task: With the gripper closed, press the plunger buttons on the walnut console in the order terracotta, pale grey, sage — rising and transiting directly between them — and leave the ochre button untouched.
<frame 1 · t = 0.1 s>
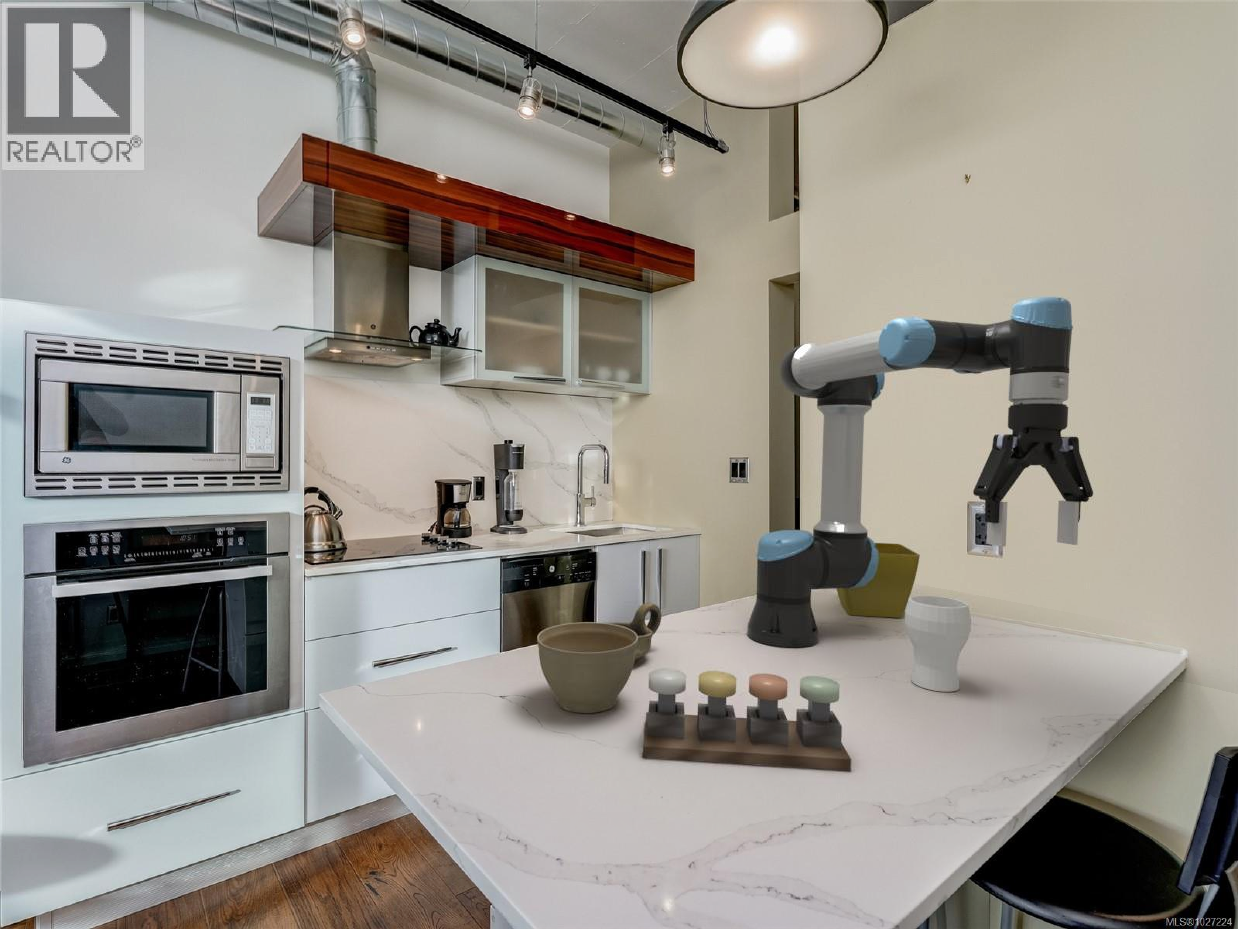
hand: (1032, 544, 96), 28 cm above the counter, fingers open, 13 cm apart
sage button: (819, 701, 88), point 7 cm above the counter, slide at 0.0 cm
ochre button: (716, 696, 89), point 7 cm above the counter, slide at 0.0 cm
planter bowl: (586, 703, 103), on the counter
terracotta button: (767, 699, 89), point 7 cm above the counter, slide at 0.0 cm
cup: (934, 685, 115), on the counter
flower pot: (869, 612, 167), on the counter
panel: (740, 744, 89), on the counter
grey button: (666, 693, 90), point 7 cm above the counter, slide at 0.0 cm
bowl: (624, 658, 125), on the counter
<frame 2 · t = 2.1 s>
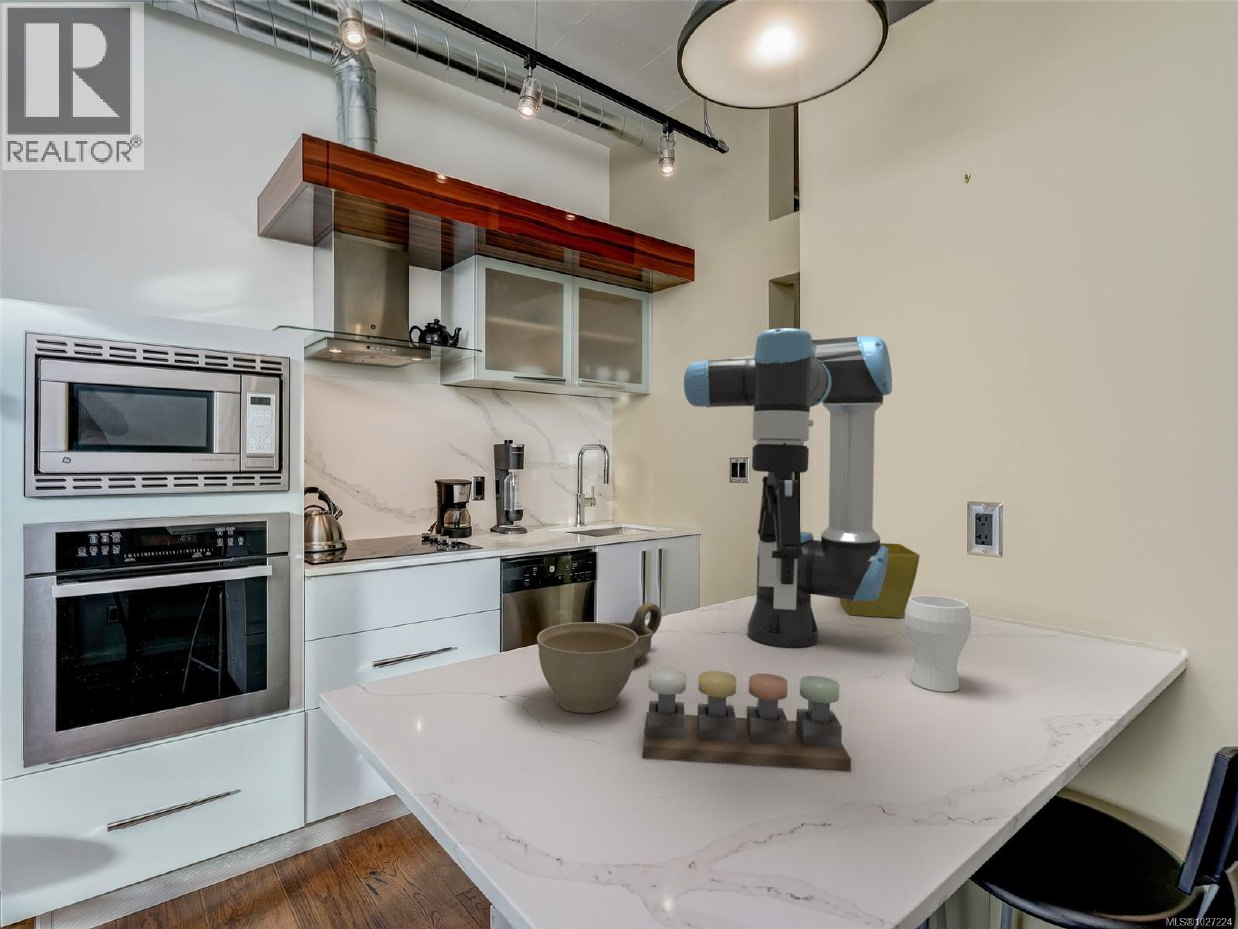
hand: (775, 596, 88), 21 cm above the counter, fingers open, 13 cm apart
nothing on the counter moved.
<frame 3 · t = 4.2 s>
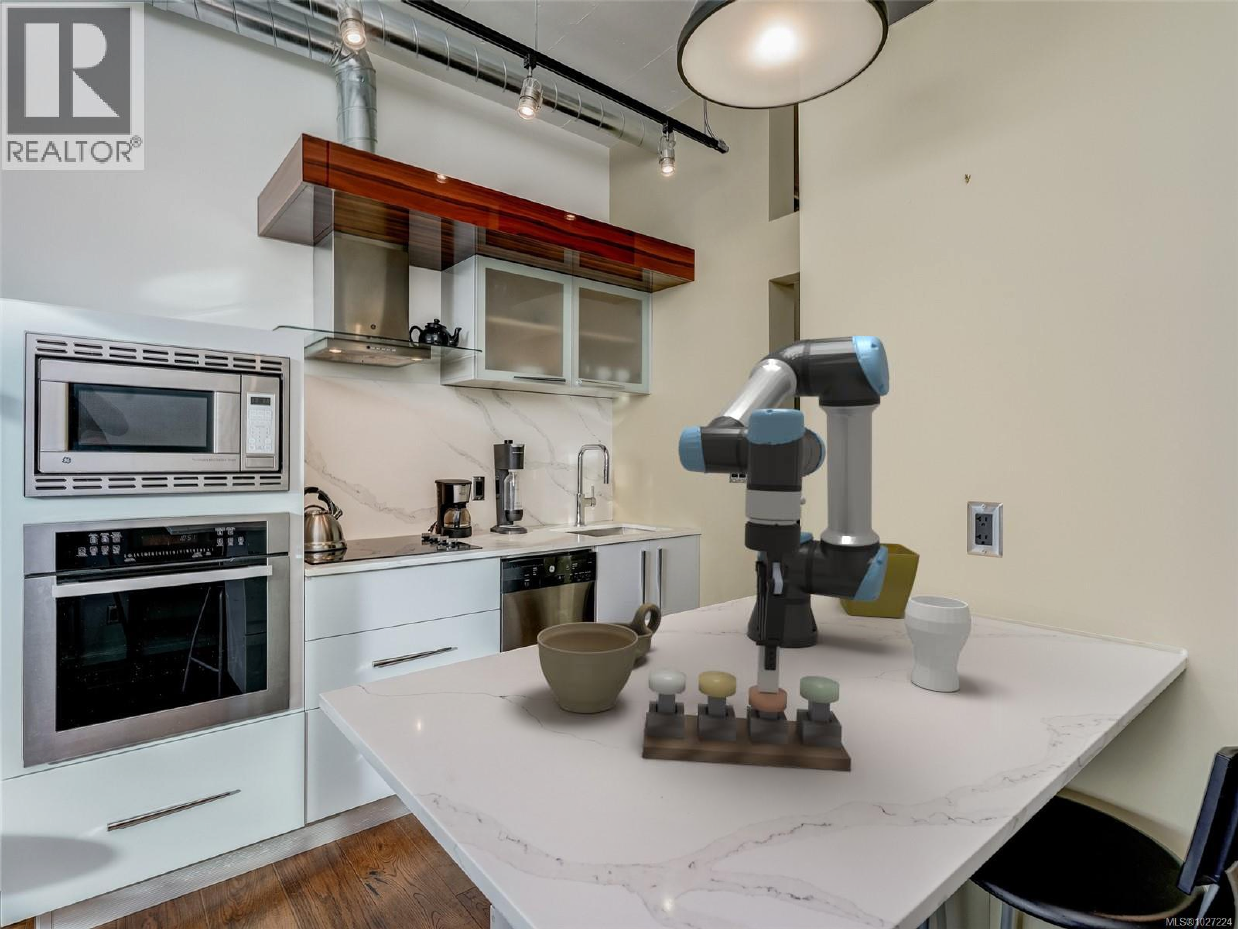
hand: (767, 690, 89), 8 cm above the counter, fingers closed
terracotta button: (767, 710, 89), point 5 cm above the counter, slide at 1.6 cm, touching gripper
everything else where it was.
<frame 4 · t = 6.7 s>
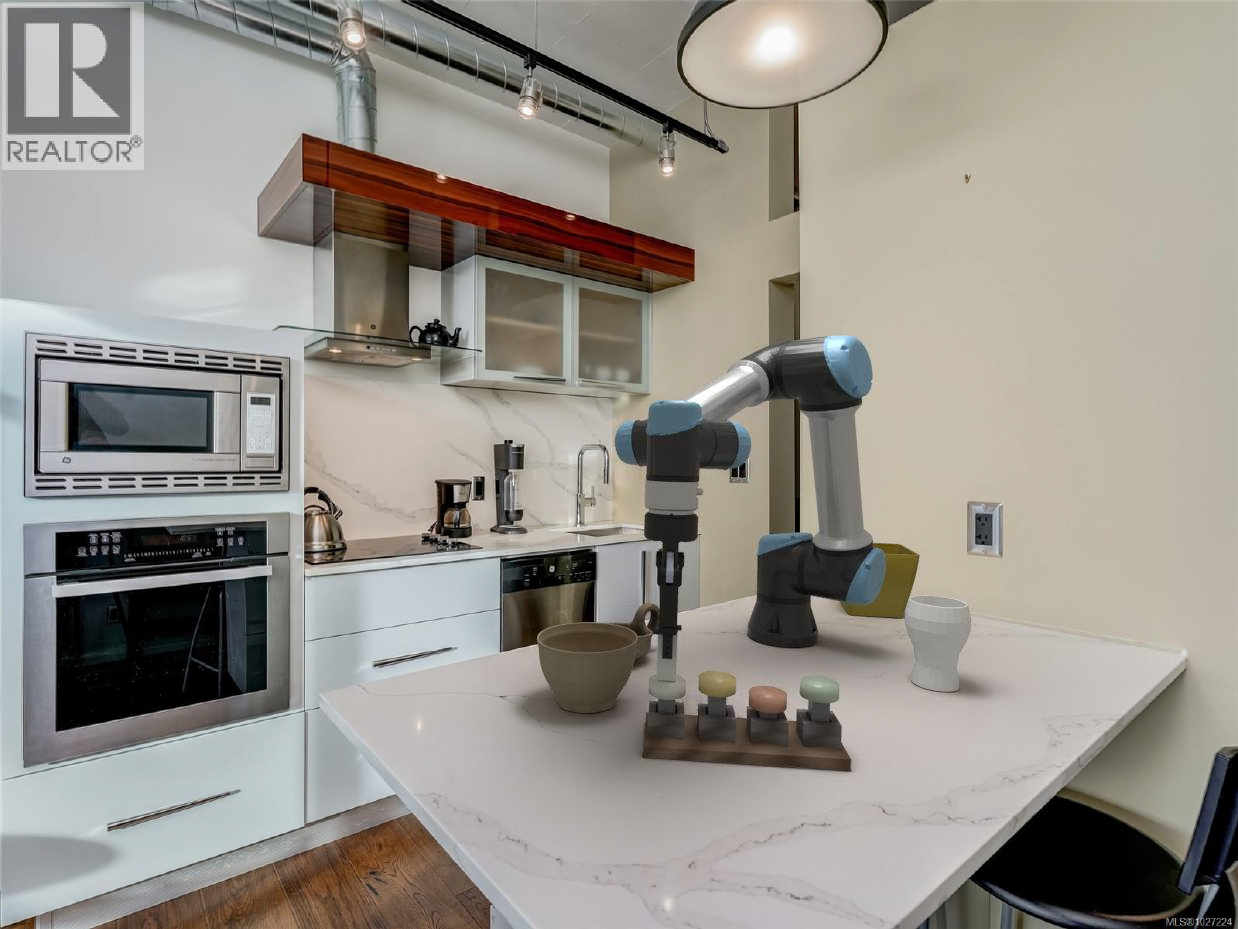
hand: (666, 678, 90), 9 cm above the counter, fingers closed
terracotta button: (767, 711, 89), point 5 cm above the counter, slide at 1.8 cm
grey button: (666, 698, 90), point 6 cm above the counter, slide at 0.8 cm, touching gripper
everything else where it was.
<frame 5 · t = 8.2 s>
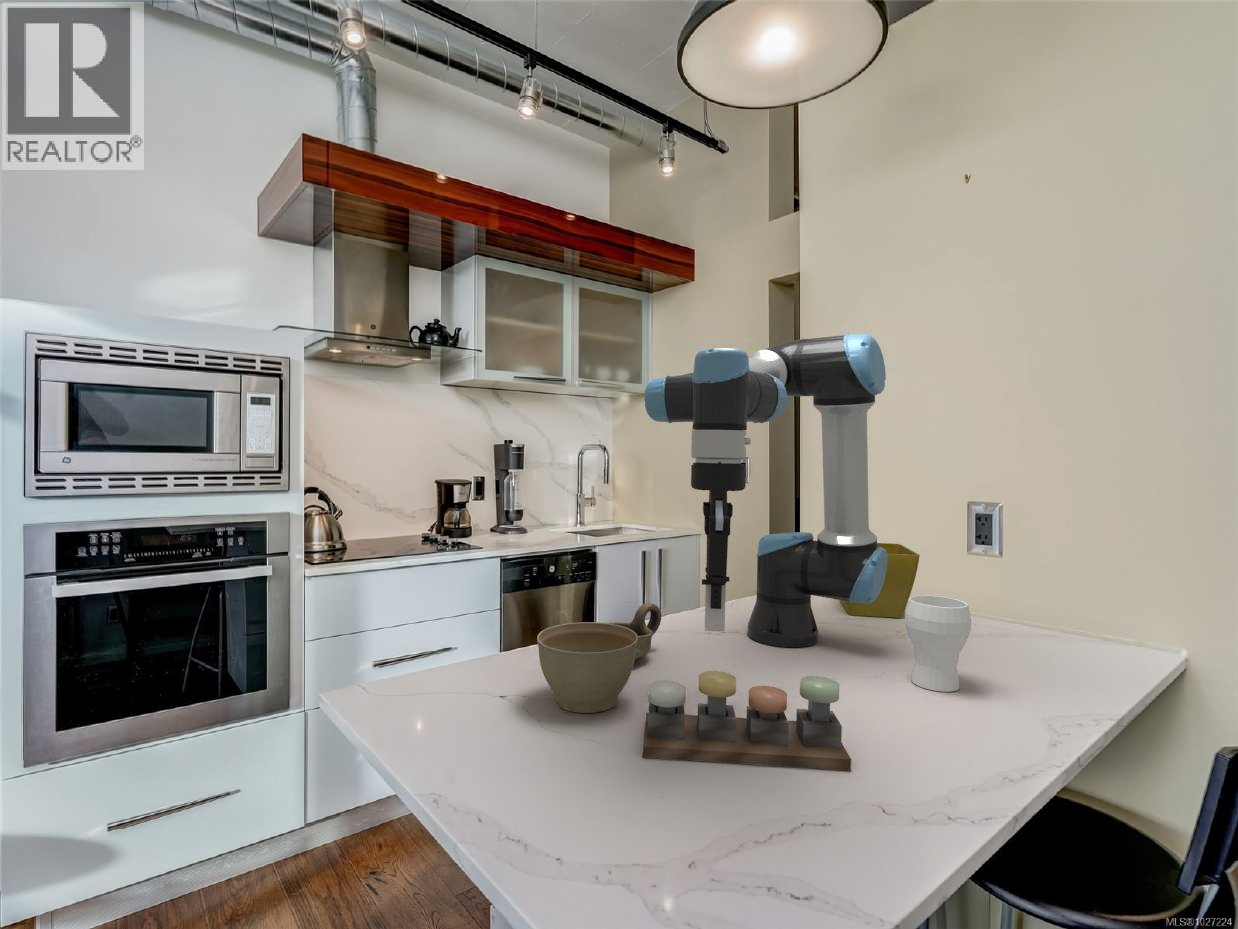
hand: (714, 629, 89), 16 cm above the counter, fingers closed
grey button: (666, 705, 90), point 5 cm above the counter, slide at 1.8 cm
everything else where it was.
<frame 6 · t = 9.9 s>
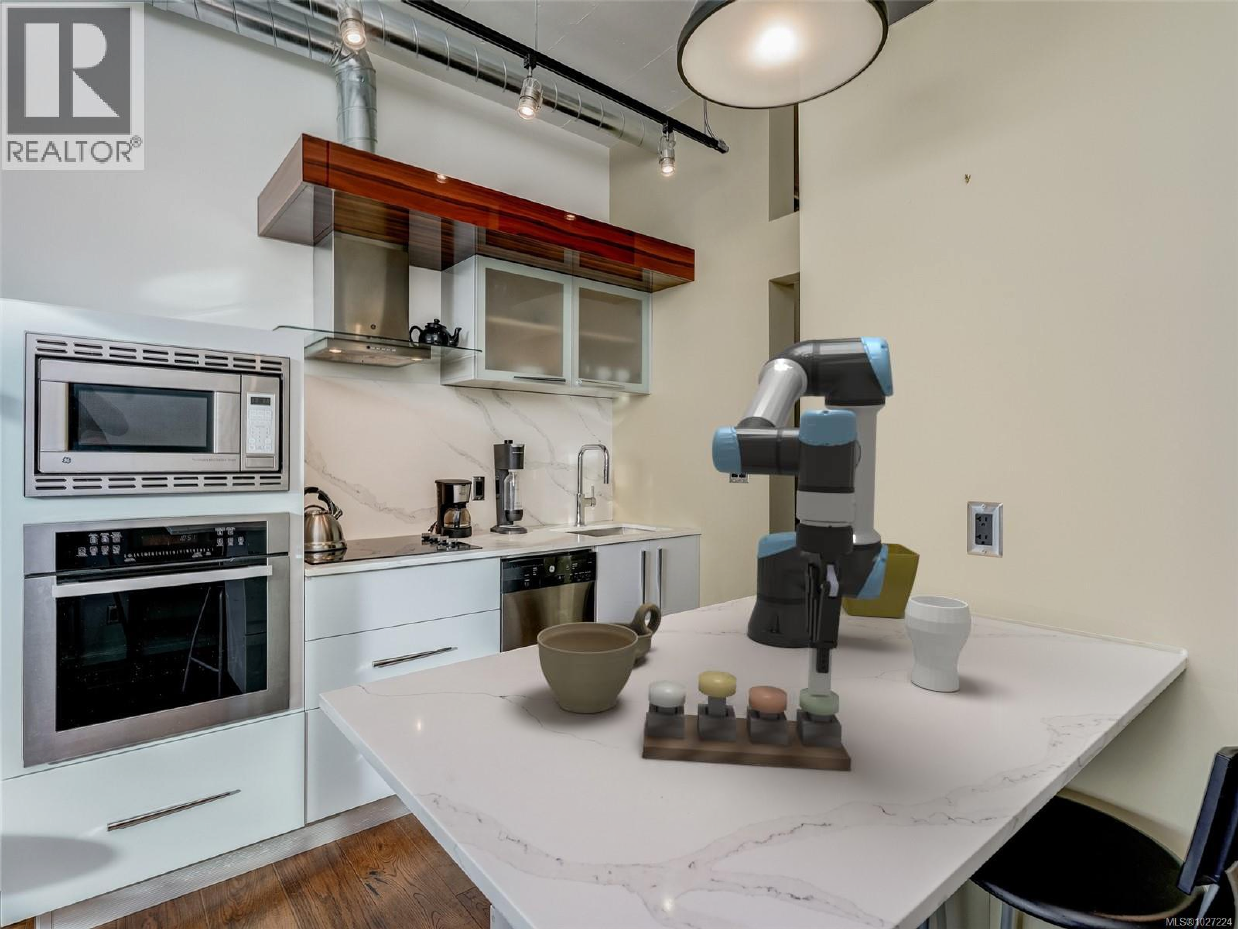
hand: (819, 693, 88), 8 cm above the counter, fingers closed
sage button: (818, 713, 88), point 5 cm above the counter, slide at 1.6 cm, touching gripper
everything else where it was.
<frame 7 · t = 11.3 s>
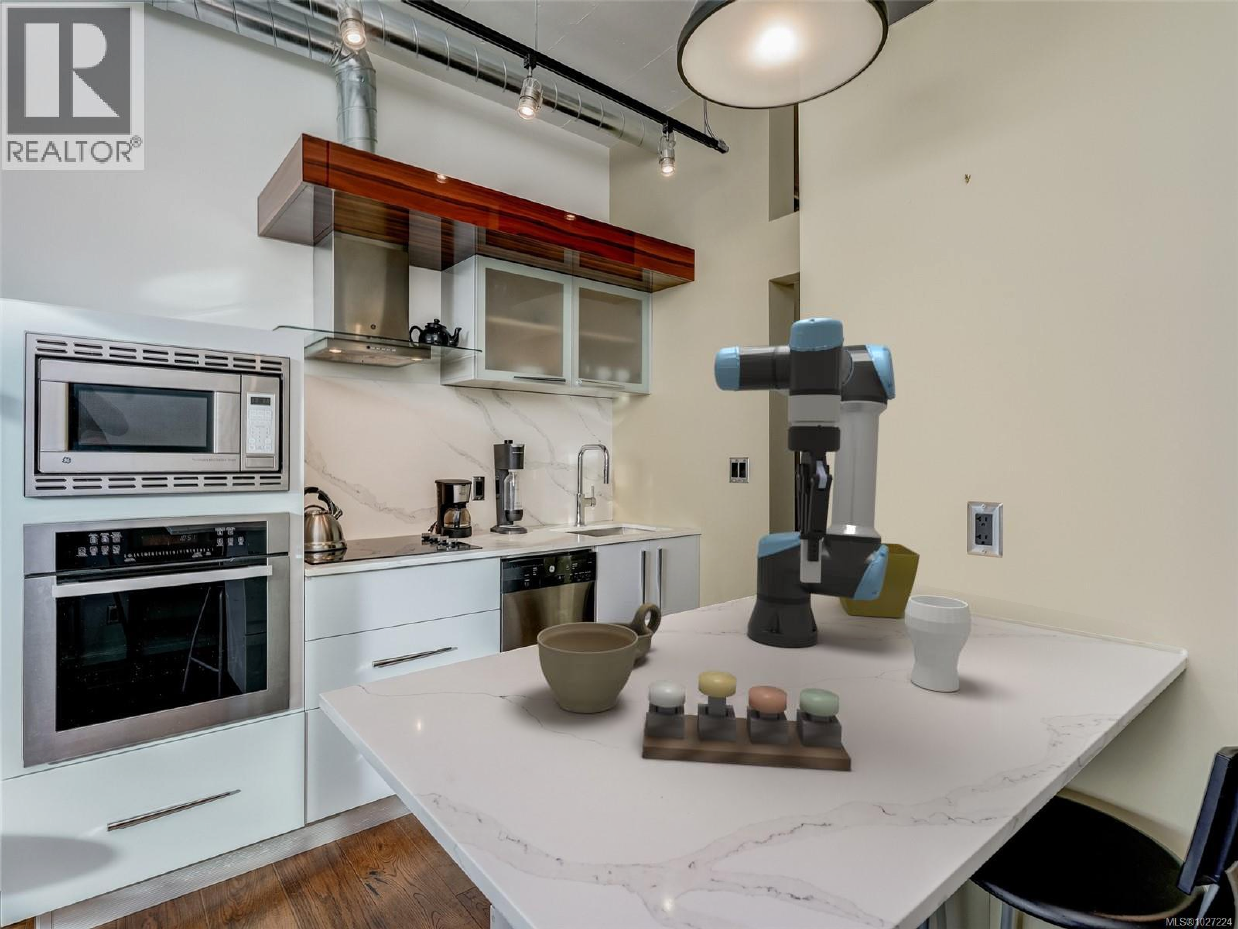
hand: (810, 581, 96), 22 cm above the counter, fingers closed
sage button: (818, 714, 88), point 5 cm above the counter, slide at 1.8 cm
everything else where it was.
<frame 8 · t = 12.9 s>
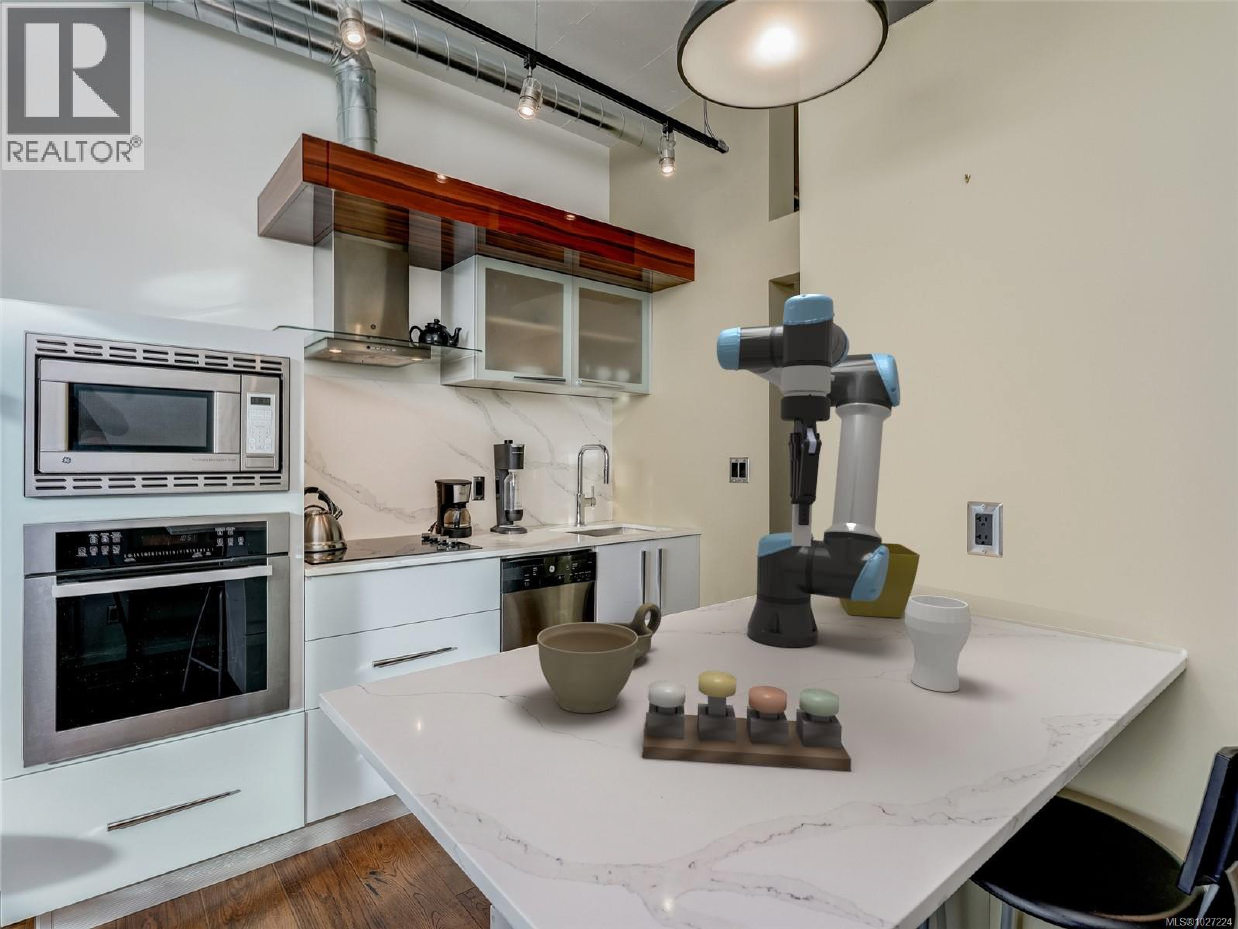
hand: (801, 545, 101), 26 cm above the counter, fingers closed
nothing on the counter moved.
at the end: terracotta button slide at 1.8 cm; grey button slide at 1.8 cm; sage button slide at 1.8 cm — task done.
